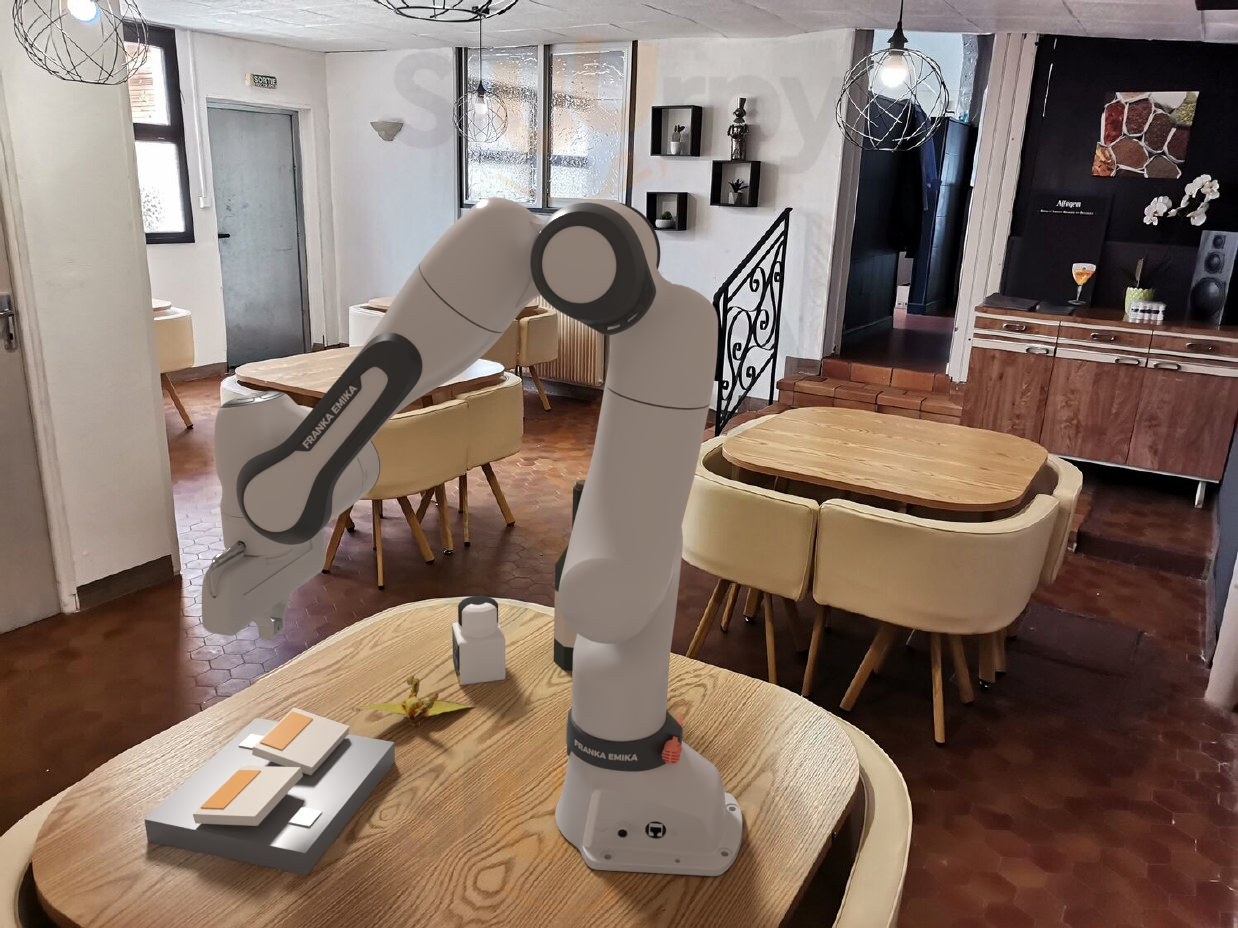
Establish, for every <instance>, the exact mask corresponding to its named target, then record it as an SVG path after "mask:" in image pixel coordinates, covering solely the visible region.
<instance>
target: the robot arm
mask: <svg viewBox="0 0 1238 928" xmlns="http://www.w3.org/2000/svg"><path fill="white" fill-rule="evenodd" d="M660 261H661V244H660V240H659V237H658V233H657V231H656V230H655V228H654V226H653V224H652V223H651V222H650V220H649V219H648V217H647V216H645V215H644V214H643V213H642V212H641V211H640V210H638V209H637V208H635V207H633V206H631V205H630V204H629V205H628V204H627V203H626V204H625V203H622V202H617V201H614V200H610V199H607V198H605V199H604V198H603V199H602V198H595V199H594V198H593V199H588V200H584V201H580V202H577V203H573V204H570V205H566V206H564V207H561V208H559V209H558V210H557V211H555V212H554V213H552V215H550V216H549V217H548V218H547V219H546V220H545V219H542V218H540V217H538V216H537V215H535V214H534V212H532V211H530V210H529V209H528V208H527V207H525V206H524V205H522V204H520V203H518V202H516V201H514V200H511V199H508V198H505V197H499V196H498V197H496V196H494V197H488V198H484V199H481V200H480V201H478V202H477V203H475V204H474V205H473V206H472V207H470V208H469V209H468V210H467V211H466V212H465V213H464V214H463V215H461V216H460V218H458V219H457V220H456V221H455V222H454V223H453V224H452V225H451V226H450V227H449V228H448V229H447V230H446V231H445V232H444V234H442V236H441V237H440V238H439V239H438V240H437V241H436V242H435V244H434V245H433V246H432V247H431V248H430V249H429V250H428V252H427V253H426V254H425V256H424V257H423V258H422V260H421V261H420V262H419V263H418V265H417V266H416V267H415V269H414V270H413V271H412V272H411V274H410V276H408V278H407V280H406V281H405V283H404V284H403V286H402V287H401V289H400V290H399V292H398V294H397V295H396V296H395V298H394V299H393V301H392V302H391V304H390V306H389V307H388V309H387V310H386V311H385V313H384V315H383V317H382V318H381V319H380V320H379V323H378V324H377V326H376V327H375V328H374V330H373V331H372V332H371V334H370V335H369V337H368V338H367V340H366V341H365V342H364V344H363V345H362V347H361V349H360V350H359V351H358V353H357V354H356V356H355V357H354V359H353V360H352V361H351V362H350V363H349V365H348V366H347V368H346V369H344V371H343V372H342V373H341V375H339V377H338V378H337V380H335V381H334V383H333V384H332V385H331V387H330V388H329V389H328V390H327V391H326V393H325V394H324V395H323V396H322V397H321V399H320V400H319V401H318V402H317V403H316V405H315V406H314V407H313V408H312V410H310V411H309V410H307V409H305V408H303V407H301V406H300V405H299V404H297V403H296V402H295V401H294V399H292V397H290V396H289V395H288V394H286V393H285V392H282V391H276V390H267V391H260V392H259V391H258V392H252V393H250V394H245V395H241V396H237V397H235V398H233V399H230V400H228V401H226V402H224V403H223V404H222V405H221V406H220V407H219V408H218V410H217V413H216V416H215V420H214V454H215V456H214V458H215V459H214V460H215V468H216V469H215V470H216V474H217V477H218V479H219V482H220V484H221V488H222V489H221V491H222V494H221V499H220V505H219V507H220V517H221V518H220V519H221V527H222V529H221V530H222V536H223V537H222V538H223V539H222V541H223V546H224V548H225V550H224V551H221V552H220V553H217V554H216V555H214V557H212V560H211V564H210V565H209V567H208V569H206V571H205V573H204V576H203V579H202V585H201V619H202V627H203V628H204V629H205V630H206V631H207V632H208V633H210V634H215V635H218V636H219V635H220V636H221V635H222V636H227V637H233V636H235V635H237V634H238V633H239V632H240V631H242V630H244V629H245V628H246V627H247V626H249V625H250V624H251V623H255V624H256V626H257V629H258V630H257V631H258V637H259V638H260V640H261V639H262V640H266V641H271V640H272V639H274V638H275V637H276V636H277V635H278V634H280V633H281V632H282V631H284V630H285V629H286V615H287V611H288V608H289V604H290V601H291V599H290V598H291V597H290V595H291V594H292V593H294V592H295V591H296V590H297V589H299V588H300V587H301V586H303V585H305V584H306V583H308V582H309V581H310V580H311V579H313V578H314V577H315V576H317V575H318V574H319V573H321V572H322V571H323V569H324V566H325V565H326V560H327V543H326V542H327V541H326V539H327V538H326V531H325V527H326V526H327V525H328V524H330V522H332V521H333V520H334V519H335V518H337V517H339V516H340V515H342V514H343V513H345V511H346V510H348V509H349V508H351V507H352V506H353V505H355V504H356V503H358V502H359V501H360V500H362V499H363V498H364V497H365V496H366V495H367V494H369V493H370V492H371V491H372V490H373V489H374V488H375V486H376V484H377V483H378V481H379V478H380V473H381V460H380V456H379V452H378V450H377V447H376V446H375V444H374V443H373V441H372V440H373V439H374V438H375V436H377V434H378V433H379V432H380V430H381V429H382V428H383V427H384V426H385V425H386V424H387V423H388V422H389V421H390V420H391V419H392V418H393V417H394V416H395V415H397V414H398V413H399V412H400V411H402V410H403V409H405V407H407V406H408V405H410V404H411V403H413V402H415V401H416V400H418V399H420V398H421V397H423V396H424V395H426V394H429V392H431V391H433V390H435V389H437V388H438V387H440V386H442V385H444V384H445V383H448V382H449V381H452V380H453V379H454V378H456V377H458V376H459V375H461V374H462V373H464V372H465V371H466V370H467V369H469V368H470V367H471V366H473V364H475V363H476V362H477V361H479V359H481V358H482V357H483V356H484V355H485V354H486V353H487V352H488V351H489V350H491V348H492V347H493V346H494V345H495V344H496V343H497V342H498V341H499V339H500V338H501V337H502V336H503V335H504V334H505V332H506V331H507V329H508V328H509V327H510V326H511V324H513V322H514V320H515V319H516V318H517V317H518V316H519V314H520V313H521V312H522V311H523V310H524V309H525V308H526V307H527V306H528V305H529V304H530V303H531V302H532V301H533V300H535V299H536V298H539V297H540V296H541V297H542V298H543V299H544V301H545V302H547V303H548V304H549V306H551V307H553V309H555V310H557V311H558V312H560V313H562V314H563V315H565V316H567V317H569V318H571V319H572V320H573V319H574V320H575V321H577V322H579V323H581V324H583V325H585V326H587V327H588V328H591V329H592V330H594V331H595V332H598V333H599V334H601V335H603V336H609V337H610V352H609V353H610V355H609V361H608V367H607V372H606V378H605V384H604V389H603V395H602V400H601V406H600V411H599V412H600V413H599V418H598V423H597V430H596V436H595V439H594V440H595V441H594V447H593V450H592V451H593V452H592V456H591V460H590V464H589V469H588V471H587V475H586V478H585V480H586V481H585V484H584V488H583V491H582V495H581V499H580V502H579V506H578V510H577V514H576V517H575V521H574V525H573V529H572V528H571V533H570V537H569V542H568V544H569V546H568V545H567V546H568V550H567V555H566V559H565V563H564V567H563V571H562V575H561V580H560V585H559V592H558V601H559V606H560V610H561V612H562V615H563V617H564V619H565V620H566V622H567V623H568V624H569V626H570V627H571V628H572V629H573V630H574V631H575V632H577V637H576V641H575V645H574V650H573V671H572V674H571V675H572V683H571V686H572V687H571V691H572V692H571V707H570V709H569V710H568V713H567V718H566V726H565V727H566V729H565V743H566V755H567V757H568V758H567V765H566V772H565V777H564V782H563V786H562V790H561V793H560V797H559V799H558V802H557V804H556V807H555V813H554V816H555V822H556V823H555V824H556V826H557V828H558V829H559V831H560V833H561V834H562V835H563V838H564V839H566V840H567V841H568V842H570V844H572V845H574V847H576V848H577V849H578V851H579V852H580V854H581V857H582V859H583V860H584V863H585V864H586V865H587V866H588V867H589V868H590V869H593V870H598V871H612V872H613V871H614V872H615V871H617V872H631V873H633V872H634V873H650V874H651V873H653V874H654V873H655V874H669V875H670V874H671V875H686V876H687V875H688V876H689V875H690V876H704V877H705V876H706V877H707V876H708V877H718V876H721V875H722V874H724V873H725V872H726V871H728V869H730V868H731V866H732V865H733V864H734V862H735V861H736V859H737V857H738V854H739V851H740V848H741V844H742V841H743V840H742V839H743V831H744V829H743V827H744V826H743V824H744V823H743V814H742V809H741V807H740V805H739V803H738V801H737V799H736V798H735V797H734V796H733V794H731V793H729V792H727V791H725V789H724V788H725V787H724V783H723V779H722V776H721V774H720V771H719V769H718V768H717V766H716V765H715V764H713V763H712V762H711V761H710V760H708V759H707V758H705V757H704V756H703V755H701V754H700V753H699V752H697V751H696V750H695V749H694V748H693V747H690V746H689V745H688V744H687V743H685V742H684V740H683V735H684V734H683V731H684V730H683V721H684V718H683V713H682V712H680V714H679V717H678V720H676V718H674V717H673V716H672V715H671V714H670V712H669V711H668V709H667V707H668V706H667V705H668V691H669V675H670V673H669V672H670V659H671V649H672V641H673V634H674V627H675V620H676V613H677V604H678V594H679V585H680V578H681V569H682V568H681V567H682V558H683V550H684V549H683V547H684V544H683V543H684V541H683V540H684V539H683V538H684V536H683V527H682V526H683V521H684V517H685V514H686V509H687V506H688V503H689V499H690V494H691V491H692V487H693V484H694V480H695V476H696V472H697V467H698V461H699V456H700V452H701V447H702V443H703V438H704V434H705V428H706V424H707V419H708V414H709V410H710V405H711V401H712V396H713V389H714V383H715V376H716V368H717V358H718V342H719V341H718V340H719V318H718V314H717V311H716V308H715V306H714V305H713V303H712V302H711V301H710V300H709V299H708V298H707V297H706V296H705V295H703V294H701V293H700V292H699V291H697V290H695V289H692V288H691V287H689V286H685V285H682V284H677V283H672V282H671V281H669V280H667V279H666V278H664V277H663V276H662V274H661V273H660V271H659V267H660V263H661V262H660Z"/></svg>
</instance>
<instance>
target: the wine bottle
mask: <svg viewBox="0 0 1238 928" xmlns="http://www.w3.org/2000/svg"><path fill="white" fill-rule="evenodd" d="M585 481H586V479H578V480H576V482H575V485H574V486H573V487H572V513H571V514H572V515H571V517H572V518H571V519H572V520H571V522H572V523H571V530H572V529H573V525H574V521H575V517H576V514H577V510H578V506H579V502H580V499H581V495H582V491H583V488H584V484H585ZM568 546H569V543H568V544H567V546H566V547H565V549H564V551H563V552H562V554H561V556H560V557H559V558H558V560H557V561H556V563H555V565H554V567H555V568H554V573H555V574H554V611H553V612H554V617H553V621H554V623H553V624H554V625H553V627H554V628H553V662H554V663H555V665H557V666H558V667H559V668H560V669H562V670H563V671H567V672H573V650H574V645H575V641H576V637H577V632H575V631H574V630H573V629H572V628H571V627H570V626H569V624H568V623H567V622H566V620H565V619H564V617H563V615H562V612H561V610H560V606H559V601H558V592H559V585H560V580H561V575H562V571H563V567H564V563H565V559H566V555H567V550H568Z"/></svg>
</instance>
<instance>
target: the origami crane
mask: <svg viewBox="0 0 1238 928" xmlns="http://www.w3.org/2000/svg"><path fill="white" fill-rule="evenodd" d="M406 683H407V685H408V686H411V689H410V693H409V694H408V697H407V698H406V699H404V700H402V702H401V703H399V702H381V703H376V704H372V705H371V704H370V705H366V706H355V707H352V708H351V709H350V711H355V712H360V711H362V710H367V711H372V710H373V711H381V712H382V711H384V712H387V713H388V712H389V713H392V714H394V715H398V716H400V717H403V718H407V719H408V721H409V722H410V727H413V728H414V727H415V728H420V725H421V724H422V723H423V721H425V718H424V717H426V718H427V717H431V716H435V715H436V716H437V715H440V714H442V713H446V712H453V711H457V710H462V709H466V708H469V709H471V708H474V707H476V706H475V705H471V704H467V703H463V702H462V703H461V702H460V703H459V702H457V701H455V702H454V701H450V700H446V699H439V693H438V692H434V694H433V695H432V696H430V695H428V696H427V697H428V699H426V700H421V699H420V698H418V693H419V691H420V685H421V683H420V678H418V677H416V678H415V675H410V676H408V677H407V678H406ZM421 712H422V715H421V718H423V719H421V721H420V722H419V721H418V720H416V717H417V716H418V715H419V714H420V713H421ZM414 720H415V721H416V725H415V723H413V721H414Z"/></svg>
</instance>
